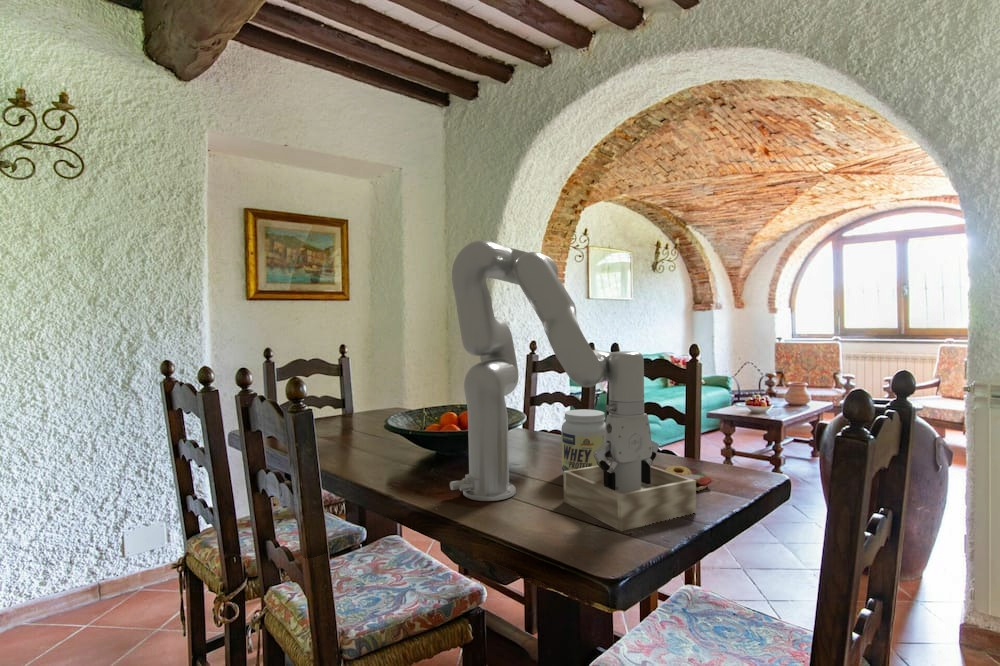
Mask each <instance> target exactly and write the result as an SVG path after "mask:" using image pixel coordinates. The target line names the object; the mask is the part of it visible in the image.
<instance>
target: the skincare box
mask: <svg viewBox="0 0 1000 666" xmlns="http://www.w3.org/2000/svg"><path fill="white" fill-rule="evenodd" d="M613 472H614V473H615V484H616V490H615V491H617V492H619V493H626V492H631V491H636V490H641V456H637V461H634V462H630V463H624V464H620V463H617V465H616V467H615V469H614V470H613Z"/></svg>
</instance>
